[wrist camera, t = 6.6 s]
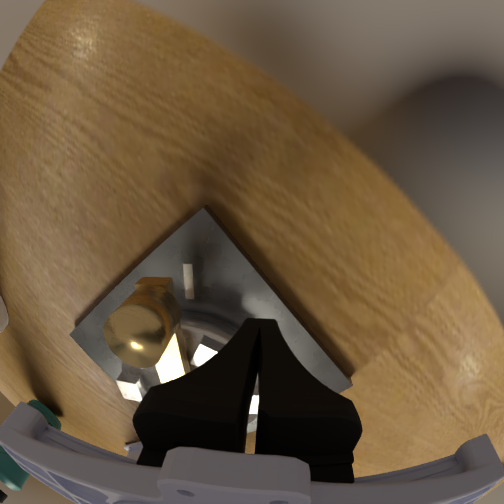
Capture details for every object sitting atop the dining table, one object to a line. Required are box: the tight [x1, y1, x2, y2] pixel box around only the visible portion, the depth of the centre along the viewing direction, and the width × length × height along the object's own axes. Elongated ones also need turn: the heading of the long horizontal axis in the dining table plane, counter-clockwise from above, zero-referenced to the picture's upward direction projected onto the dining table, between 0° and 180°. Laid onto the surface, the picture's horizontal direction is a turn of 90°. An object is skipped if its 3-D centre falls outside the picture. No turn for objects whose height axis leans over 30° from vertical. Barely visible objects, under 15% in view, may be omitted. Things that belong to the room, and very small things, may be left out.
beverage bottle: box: [0, 400, 61, 503], centre depth 19 cm, size 6×7×20 cm
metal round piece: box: [103, 277, 259, 424], centre depth 17 cm, size 15×11×7 cm
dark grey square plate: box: [70, 205, 353, 433], centre depth 21 cm, size 18×18×1 cm
